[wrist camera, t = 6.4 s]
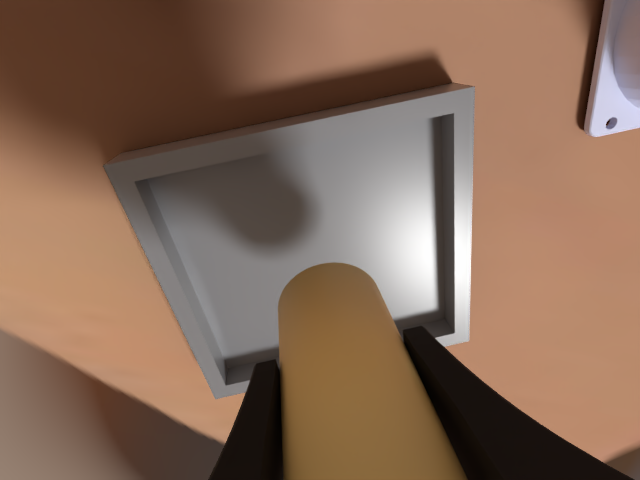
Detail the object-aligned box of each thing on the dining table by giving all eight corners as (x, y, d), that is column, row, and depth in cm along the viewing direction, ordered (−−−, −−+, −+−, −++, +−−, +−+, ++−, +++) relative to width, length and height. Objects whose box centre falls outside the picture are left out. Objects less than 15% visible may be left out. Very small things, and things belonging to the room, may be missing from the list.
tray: (453, 82, 15) (474, 86, 14) (454, 319, 21) (469, 340, 20) (120, 153, 15) (103, 165, 13) (219, 372, 21) (215, 399, 19)
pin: (374, 252, 13) (496, 479, 6) (385, 334, 15) (487, 581, 8) (266, 275, 13) (262, 535, 6) (290, 355, 15) (308, 626, 8)
